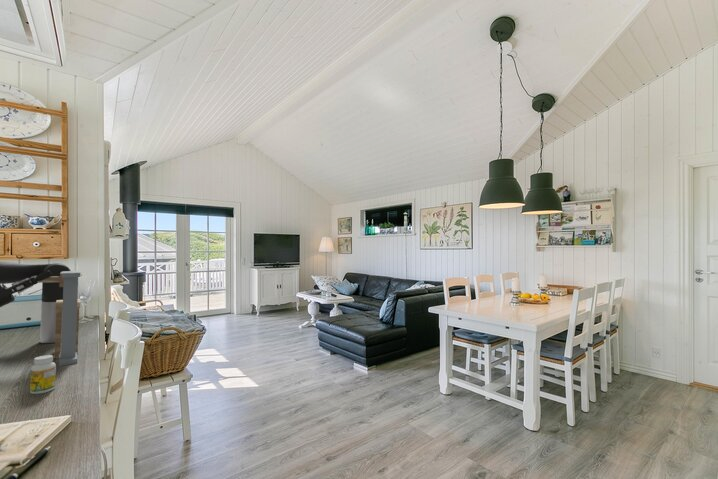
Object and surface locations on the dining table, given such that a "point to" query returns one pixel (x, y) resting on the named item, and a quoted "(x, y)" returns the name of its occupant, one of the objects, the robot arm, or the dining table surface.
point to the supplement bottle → (42, 375)
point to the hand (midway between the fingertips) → (50, 273)
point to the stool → (59, 326)
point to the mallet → (54, 280)
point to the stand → (69, 318)
